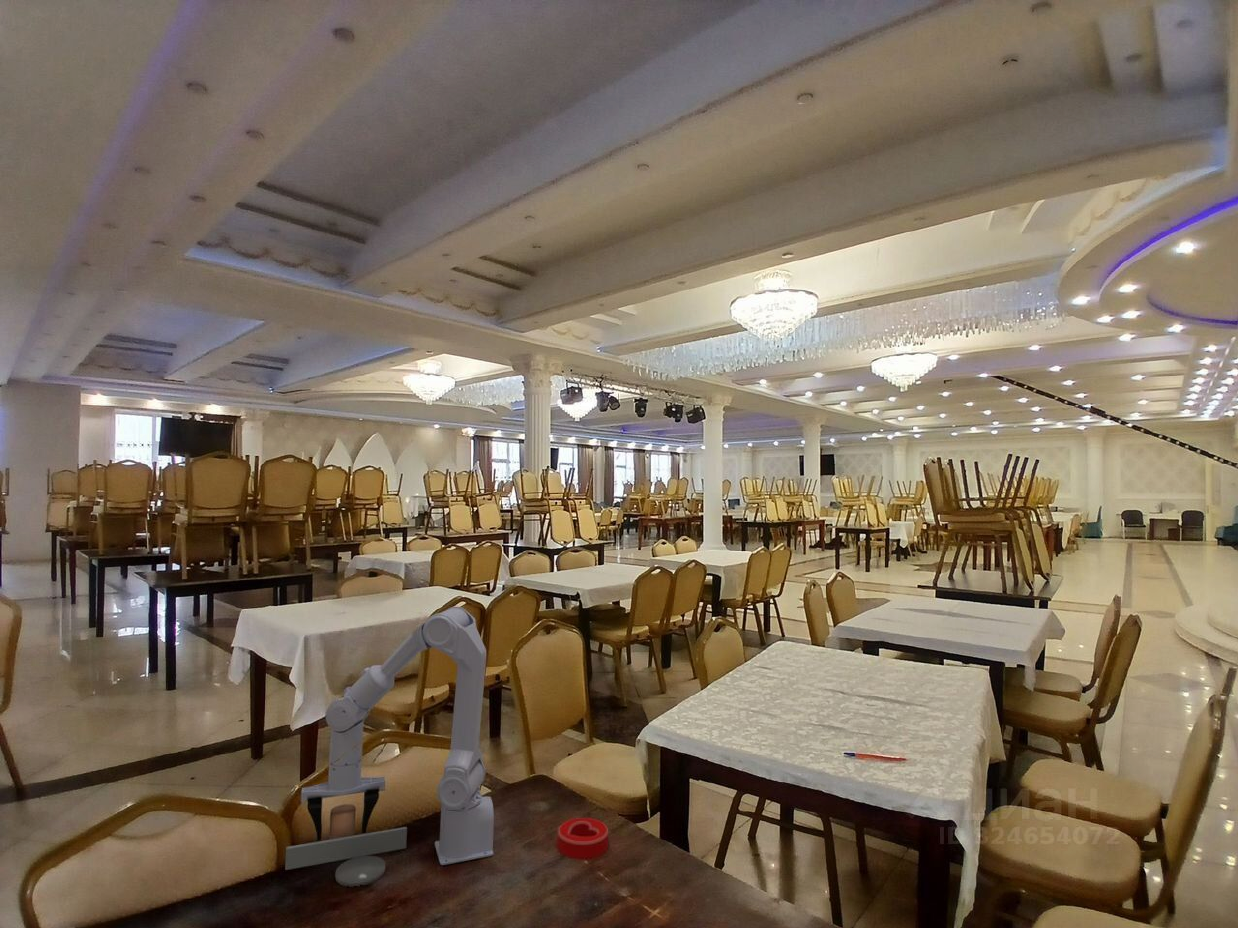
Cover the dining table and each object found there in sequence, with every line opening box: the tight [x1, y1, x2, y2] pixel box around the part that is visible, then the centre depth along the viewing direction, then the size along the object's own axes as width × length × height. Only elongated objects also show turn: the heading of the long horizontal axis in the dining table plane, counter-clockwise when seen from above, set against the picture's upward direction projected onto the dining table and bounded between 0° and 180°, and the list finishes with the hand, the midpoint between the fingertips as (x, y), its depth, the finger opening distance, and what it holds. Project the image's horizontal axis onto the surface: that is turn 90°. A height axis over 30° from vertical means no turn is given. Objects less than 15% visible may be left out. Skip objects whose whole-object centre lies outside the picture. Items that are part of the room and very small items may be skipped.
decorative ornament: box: [556, 817, 609, 860], centre depth 122 cm, size 10×10×3 cm
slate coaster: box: [334, 855, 386, 888], centre depth 111 cm, size 8×8×1 cm
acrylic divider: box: [284, 826, 408, 871], centre depth 115 cm, size 20×1×4 cm, turn 114°
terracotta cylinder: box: [328, 803, 357, 840], centre depth 121 cm, size 4×4×6 cm
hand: (341, 834), depth 120 cm, fingers open, 7 cm apart
